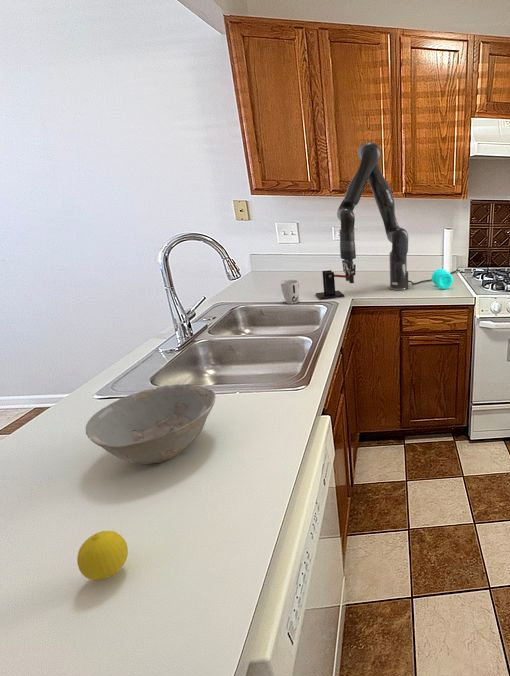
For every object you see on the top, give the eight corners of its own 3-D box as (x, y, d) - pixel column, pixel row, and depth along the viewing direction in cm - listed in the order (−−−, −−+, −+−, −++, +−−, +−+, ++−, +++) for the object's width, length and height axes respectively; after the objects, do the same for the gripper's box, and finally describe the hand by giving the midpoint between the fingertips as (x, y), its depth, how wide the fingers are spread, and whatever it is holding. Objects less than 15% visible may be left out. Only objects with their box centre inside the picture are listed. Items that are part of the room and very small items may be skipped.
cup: (294, 305, 186) (292, 284, 182) (279, 303, 187) (276, 283, 184) (304, 300, 193) (302, 280, 190) (289, 299, 195) (286, 279, 191)
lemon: (82, 577, 59) (65, 537, 57) (126, 552, 64) (113, 513, 61) (92, 600, 56) (75, 559, 54) (138, 572, 60) (125, 532, 58)
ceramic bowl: (74, 496, 74) (57, 452, 71) (128, 426, 95) (117, 389, 91) (207, 475, 80) (198, 434, 77) (231, 414, 101) (224, 379, 97)
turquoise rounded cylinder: (436, 290, 219) (436, 272, 215) (431, 285, 227) (431, 268, 224) (453, 289, 222) (453, 271, 218) (447, 284, 231) (447, 267, 227)
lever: (349, 278, 207) (349, 273, 206) (352, 280, 203) (352, 275, 202) (323, 276, 199) (324, 271, 199) (326, 278, 195) (327, 273, 195)
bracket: (338, 292, 208) (337, 268, 204) (344, 297, 201) (342, 272, 197) (315, 295, 202) (313, 270, 198) (320, 300, 195) (318, 274, 190)
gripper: (360, 250, 195) (361, 284, 201) (350, 246, 206) (352, 278, 212) (345, 251, 191) (347, 285, 197) (336, 247, 203) (338, 279, 209)
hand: (349, 281), depth 205 cm, fingers closed on lever, 5 cm apart
